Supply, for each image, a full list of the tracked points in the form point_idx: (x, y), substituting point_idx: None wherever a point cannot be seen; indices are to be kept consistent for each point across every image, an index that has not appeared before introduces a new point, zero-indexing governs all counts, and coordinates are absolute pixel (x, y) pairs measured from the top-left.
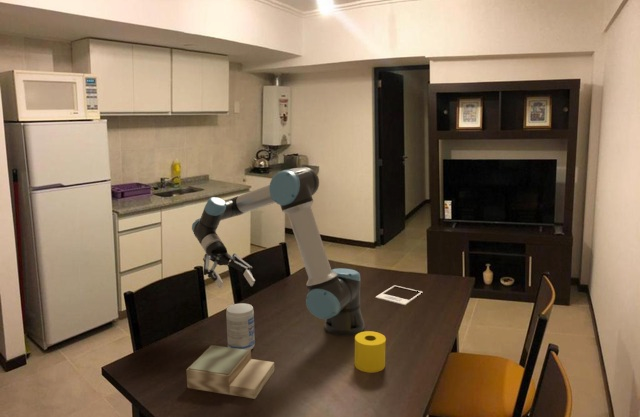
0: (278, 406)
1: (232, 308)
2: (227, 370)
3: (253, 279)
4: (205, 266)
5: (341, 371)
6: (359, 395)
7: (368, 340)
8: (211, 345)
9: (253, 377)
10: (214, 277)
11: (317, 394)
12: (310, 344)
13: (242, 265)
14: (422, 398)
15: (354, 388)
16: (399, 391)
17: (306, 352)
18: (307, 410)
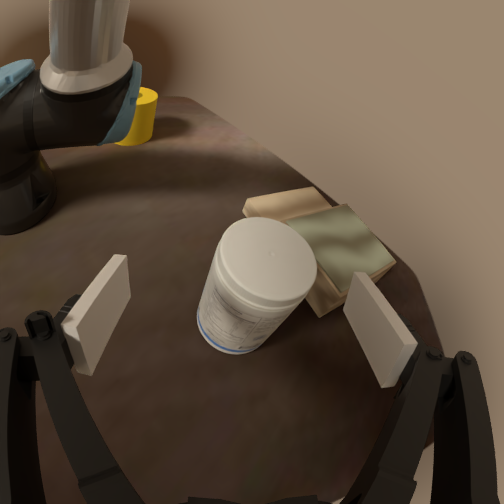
0: (290, 172)
1: (293, 271)
2: (345, 210)
3: (116, 260)
4: (480, 384)
5: (170, 148)
6: (203, 125)
7: (142, 95)
8: (341, 296)
9: (301, 200)
10: (403, 316)
11: (237, 151)
12: (116, 211)
13: (55, 377)
14: (167, 97)
15: (195, 130)
16: (168, 107)
17: (150, 202)
18: (268, 150)
